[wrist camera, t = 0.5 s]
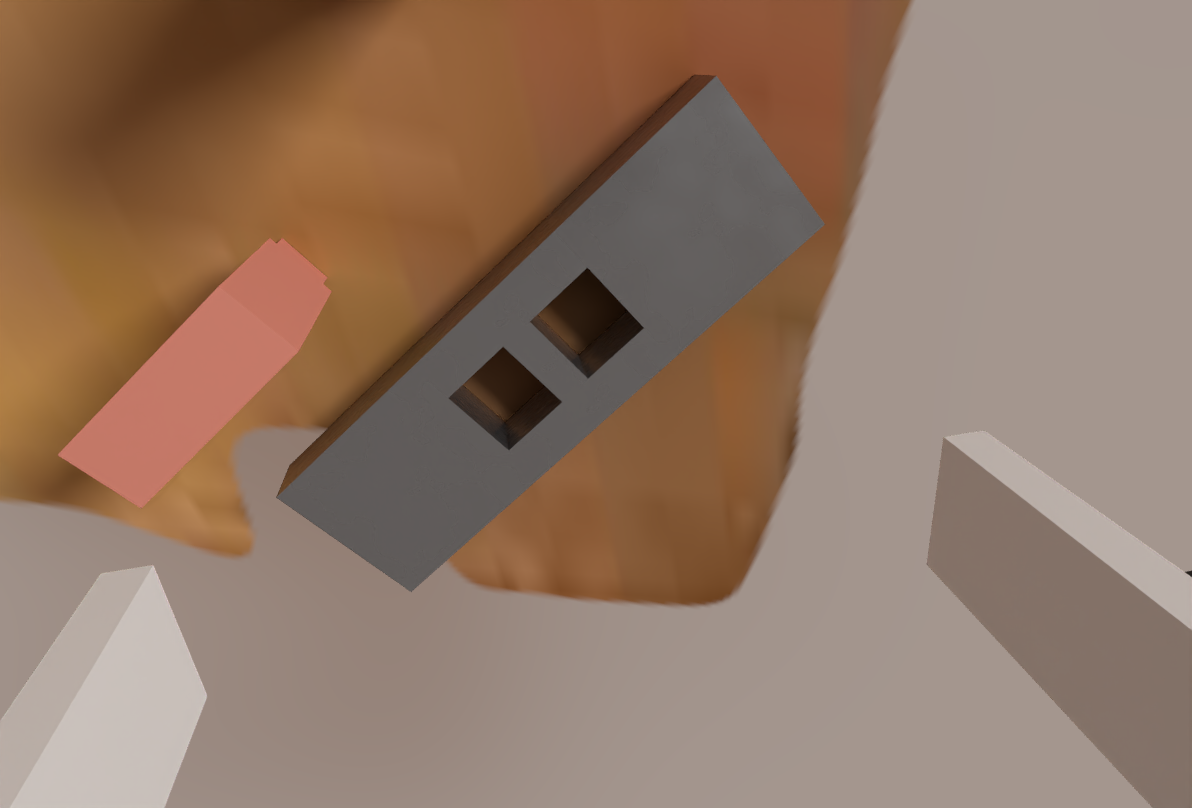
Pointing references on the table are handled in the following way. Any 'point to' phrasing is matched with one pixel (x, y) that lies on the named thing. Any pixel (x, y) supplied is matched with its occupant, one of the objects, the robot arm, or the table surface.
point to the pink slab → (202, 374)
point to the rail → (556, 336)
